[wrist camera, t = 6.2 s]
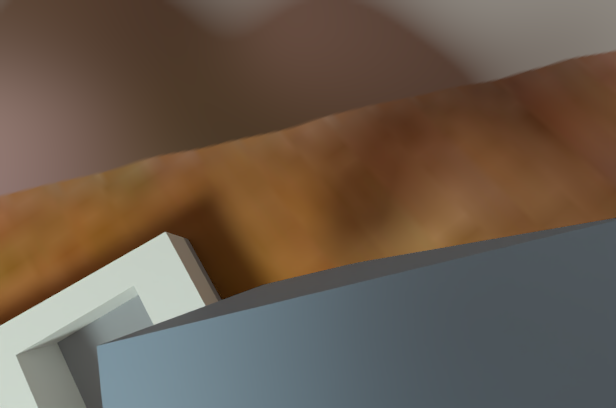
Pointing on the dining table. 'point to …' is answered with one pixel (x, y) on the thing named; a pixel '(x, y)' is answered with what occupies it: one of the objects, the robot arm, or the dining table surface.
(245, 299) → the peg
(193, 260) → the white slotted board
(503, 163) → the dining table surface
